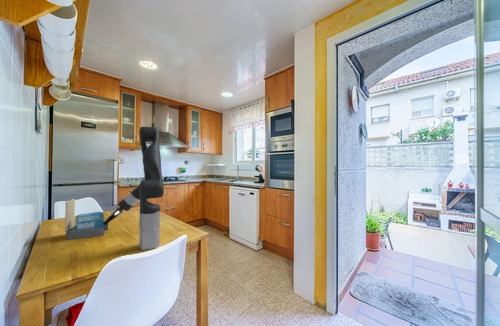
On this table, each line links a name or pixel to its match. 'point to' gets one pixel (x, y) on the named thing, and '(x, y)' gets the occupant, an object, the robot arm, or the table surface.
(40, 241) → the table surface
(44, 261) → the table surface
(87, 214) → the blue carton
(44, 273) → the table surface
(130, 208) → the robot arm
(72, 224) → the mailer box
